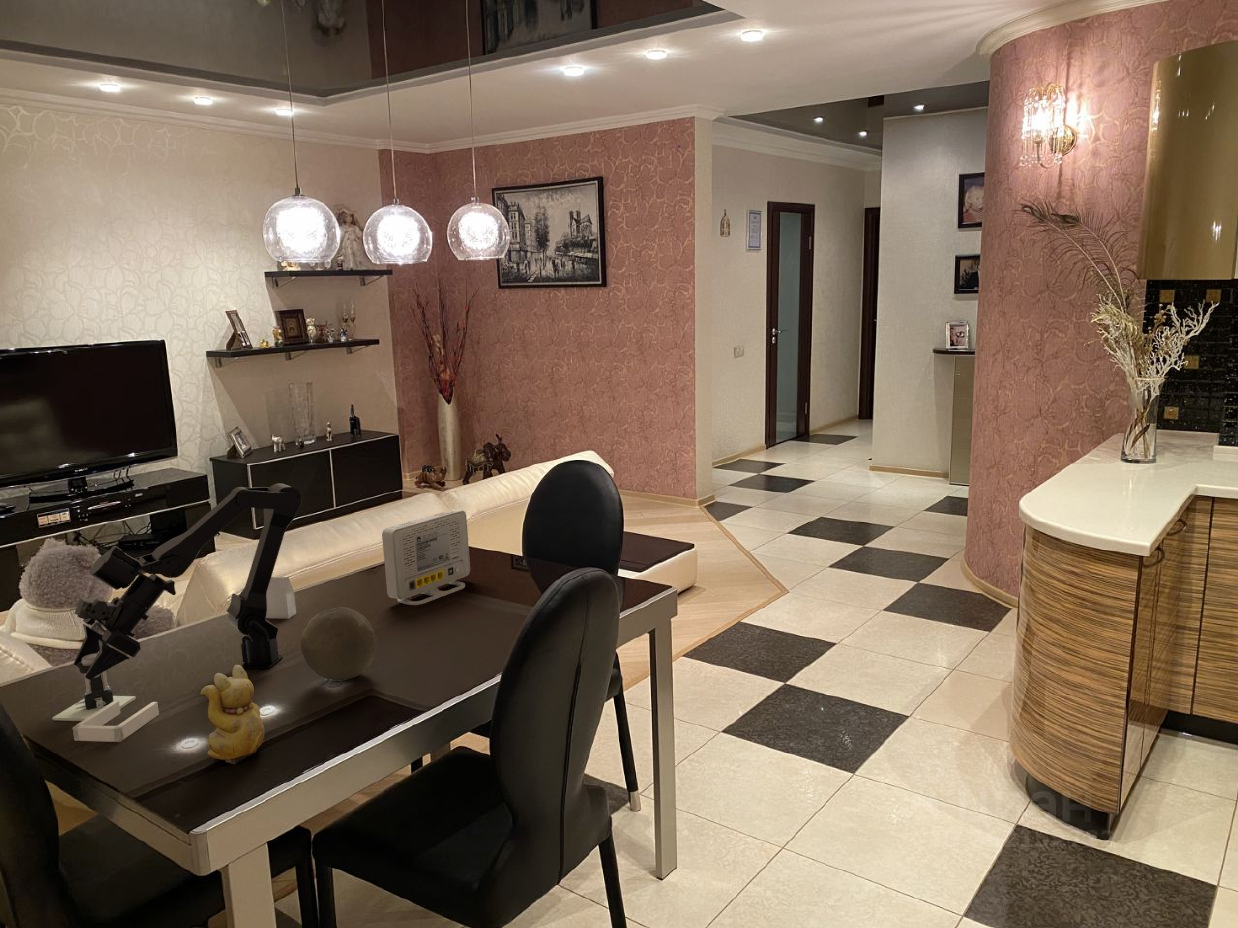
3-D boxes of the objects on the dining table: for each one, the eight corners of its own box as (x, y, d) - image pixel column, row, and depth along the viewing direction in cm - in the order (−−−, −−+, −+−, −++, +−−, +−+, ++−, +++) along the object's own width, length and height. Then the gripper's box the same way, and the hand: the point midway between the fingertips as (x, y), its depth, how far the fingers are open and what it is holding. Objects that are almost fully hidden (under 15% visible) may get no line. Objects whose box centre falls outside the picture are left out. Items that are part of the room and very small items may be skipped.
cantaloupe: (320, 667, 193) (313, 599, 191) (387, 665, 193) (380, 597, 190) (295, 696, 179) (287, 622, 177) (366, 694, 179) (359, 620, 176)
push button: (77, 716, 173) (69, 665, 172) (74, 706, 178) (67, 657, 176) (116, 706, 177) (109, 657, 175) (113, 697, 181) (106, 649, 180)
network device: (455, 578, 253) (450, 507, 250) (478, 582, 248) (473, 510, 245) (382, 604, 233) (375, 528, 230) (405, 610, 228) (398, 532, 225)
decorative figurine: (240, 738, 162) (230, 658, 160) (280, 743, 160) (271, 661, 157) (201, 765, 153) (190, 680, 151) (243, 770, 151) (232, 684, 148)
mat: (135, 698, 182) (135, 696, 181) (100, 721, 172) (100, 718, 172) (90, 697, 183) (89, 695, 183) (52, 720, 173) (52, 717, 173)
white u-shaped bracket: (159, 714, 174) (157, 701, 173) (120, 741, 163) (118, 728, 163) (115, 713, 175) (114, 700, 175) (74, 740, 164) (72, 727, 164)
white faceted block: (288, 618, 226) (284, 579, 224) (263, 618, 227) (258, 579, 225) (296, 613, 229) (292, 574, 228) (271, 613, 230) (266, 574, 229)
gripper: (88, 571, 183) (32, 639, 177) (112, 590, 169) (53, 665, 163) (136, 599, 189) (84, 666, 184) (164, 620, 175) (108, 692, 170)
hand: (81, 671), depth 175 cm, fingers open, 9 cm apart
